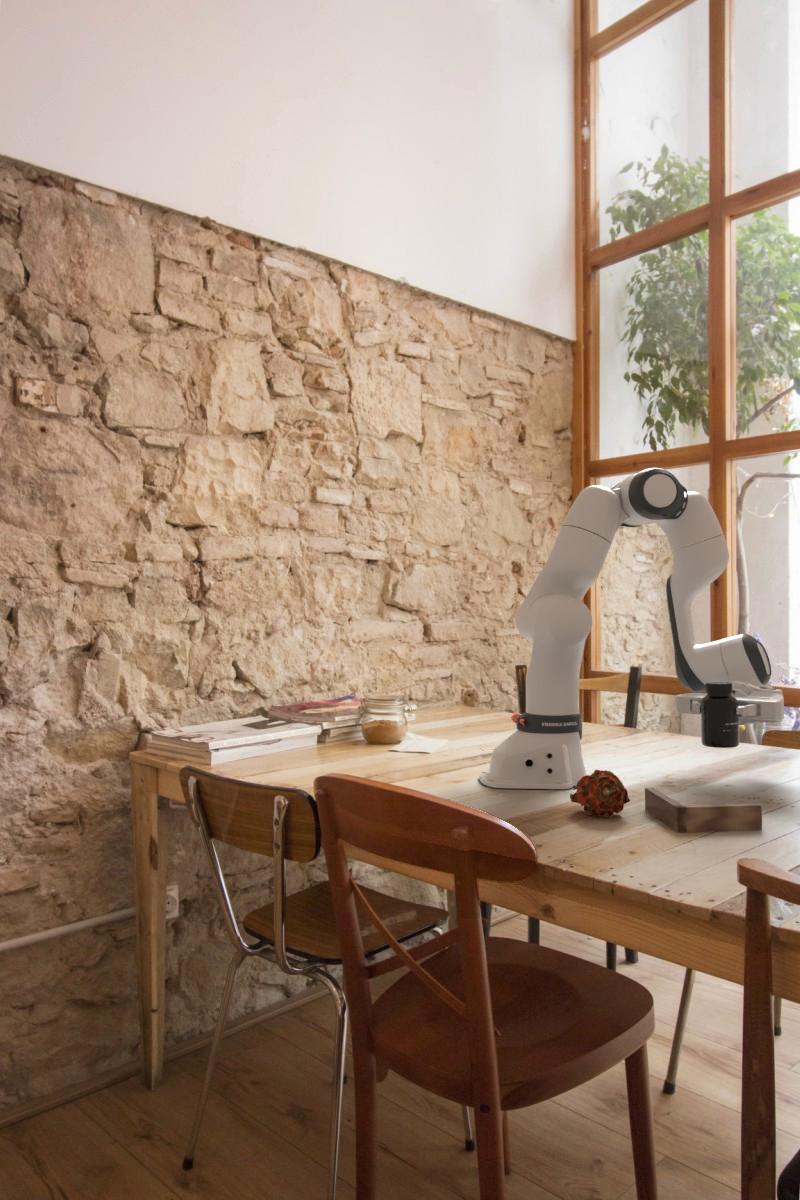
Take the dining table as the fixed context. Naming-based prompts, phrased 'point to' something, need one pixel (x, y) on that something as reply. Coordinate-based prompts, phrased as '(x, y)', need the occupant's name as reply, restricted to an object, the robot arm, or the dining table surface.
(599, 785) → the dragon fruit
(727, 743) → the supplement bottle
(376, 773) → the dining table surface
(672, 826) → the corner arena
